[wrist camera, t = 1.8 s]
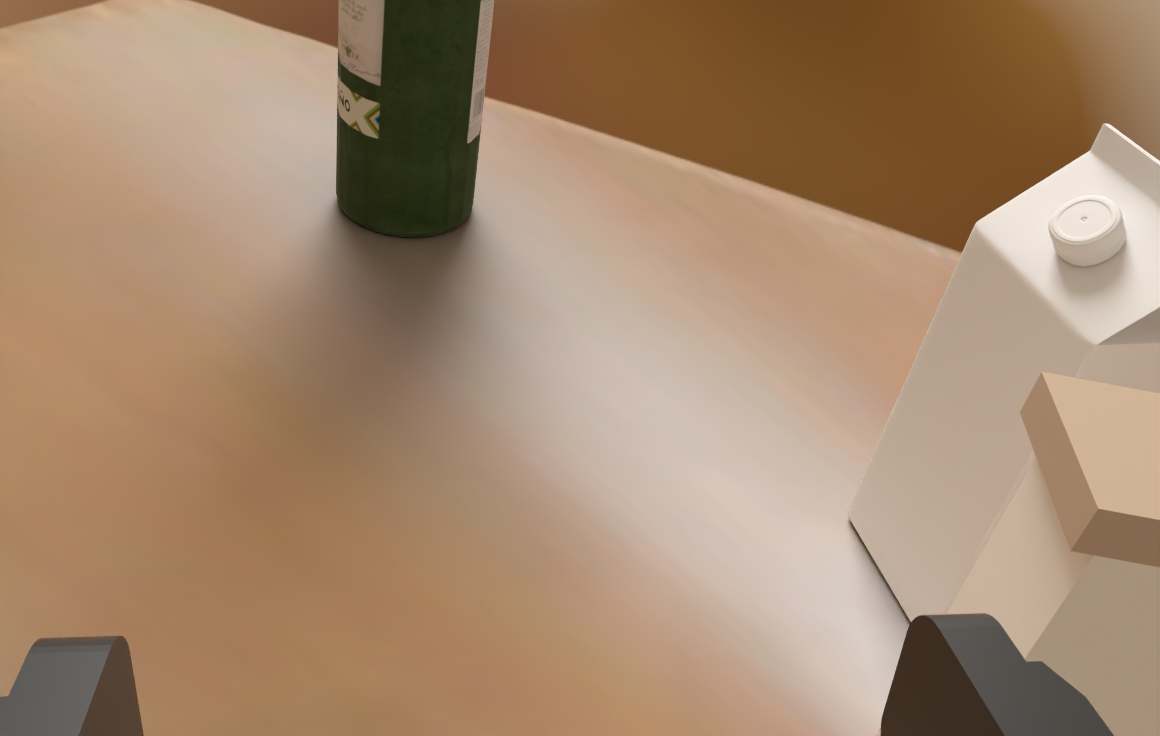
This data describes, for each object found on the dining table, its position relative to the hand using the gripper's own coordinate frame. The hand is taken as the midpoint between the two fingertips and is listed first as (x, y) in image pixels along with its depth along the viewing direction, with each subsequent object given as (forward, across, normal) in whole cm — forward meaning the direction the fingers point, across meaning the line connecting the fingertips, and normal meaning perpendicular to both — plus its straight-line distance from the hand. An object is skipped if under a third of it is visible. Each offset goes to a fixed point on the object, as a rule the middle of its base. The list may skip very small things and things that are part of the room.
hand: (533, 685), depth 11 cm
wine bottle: (+52, +2, +14) cm, 53 cm away
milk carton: (+25, -21, +20) cm, 38 cm away
